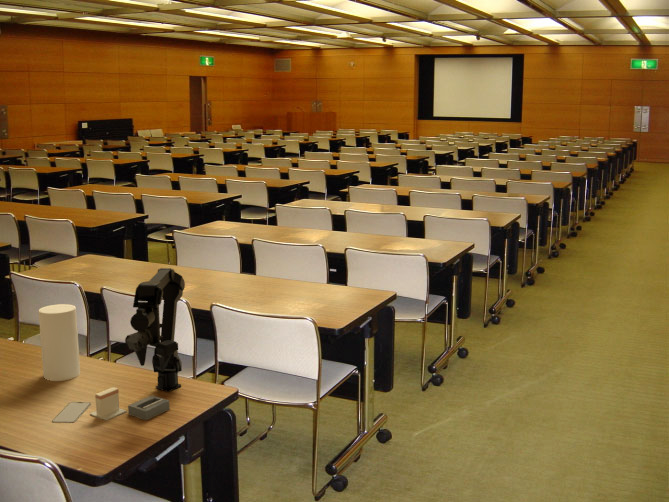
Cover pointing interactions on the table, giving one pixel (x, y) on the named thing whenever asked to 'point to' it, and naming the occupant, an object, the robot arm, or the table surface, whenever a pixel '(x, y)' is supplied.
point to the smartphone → (71, 412)
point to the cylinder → (59, 342)
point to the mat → (110, 415)
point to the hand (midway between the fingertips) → (152, 368)
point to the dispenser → (148, 407)
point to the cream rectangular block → (107, 401)
